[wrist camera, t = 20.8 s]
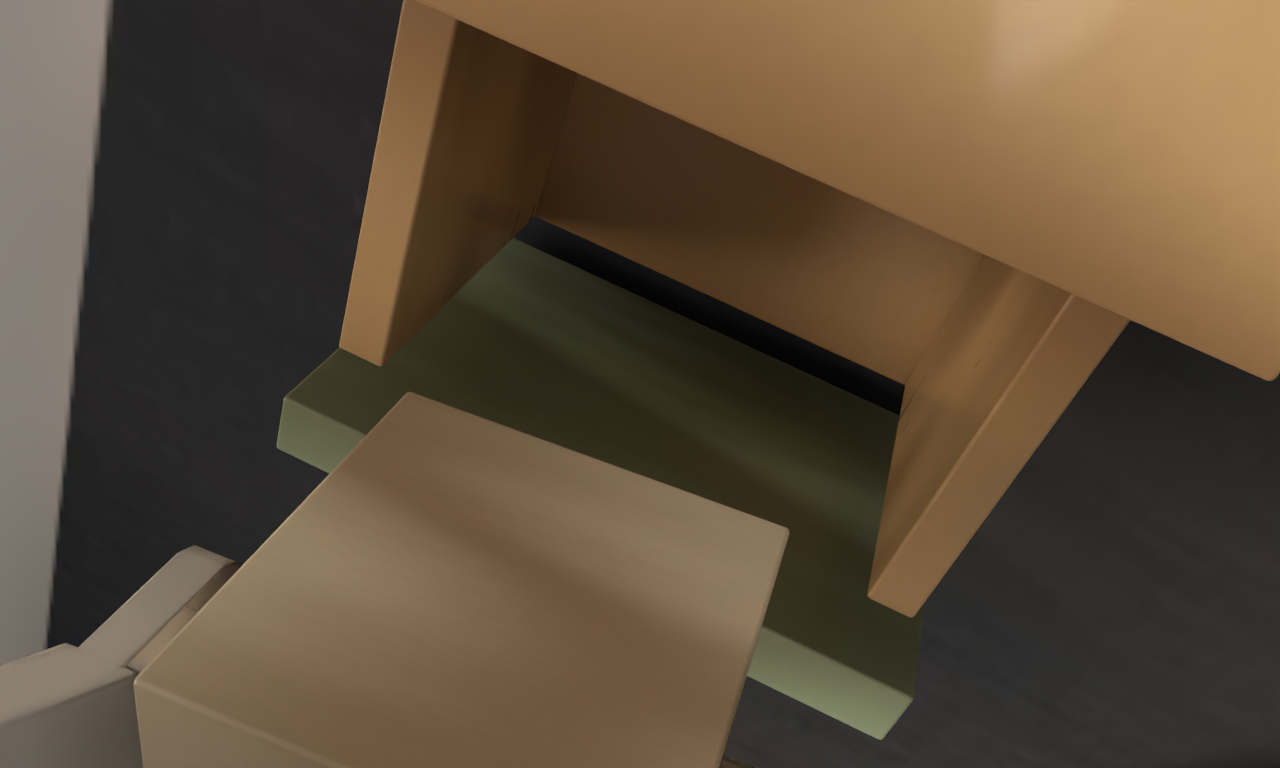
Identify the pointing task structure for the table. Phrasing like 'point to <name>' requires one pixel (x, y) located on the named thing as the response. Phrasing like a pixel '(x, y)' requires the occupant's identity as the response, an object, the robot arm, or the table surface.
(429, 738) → the block
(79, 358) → the table surface
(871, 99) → the cabinet
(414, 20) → the drawer
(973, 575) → the table surface
